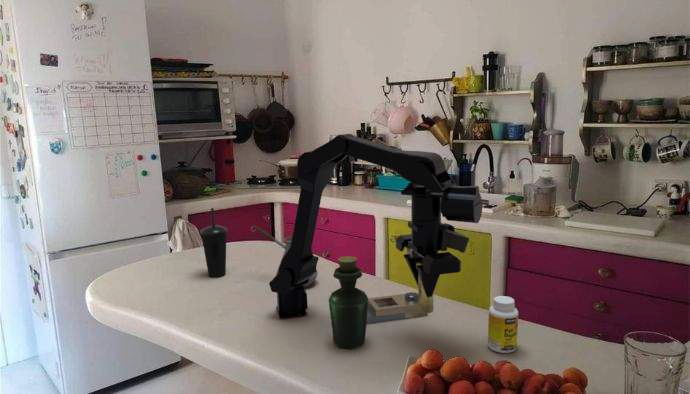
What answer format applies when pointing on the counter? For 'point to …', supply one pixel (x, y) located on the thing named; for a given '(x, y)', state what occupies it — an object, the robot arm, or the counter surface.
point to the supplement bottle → (503, 325)
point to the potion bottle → (348, 306)
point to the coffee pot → (286, 247)
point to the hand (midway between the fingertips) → (425, 293)
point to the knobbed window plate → (393, 307)
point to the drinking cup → (215, 248)
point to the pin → (423, 296)
